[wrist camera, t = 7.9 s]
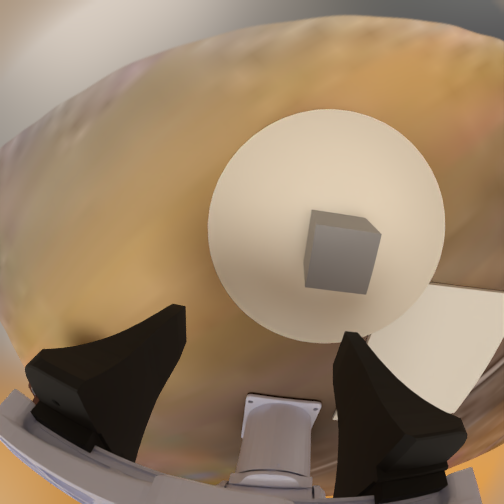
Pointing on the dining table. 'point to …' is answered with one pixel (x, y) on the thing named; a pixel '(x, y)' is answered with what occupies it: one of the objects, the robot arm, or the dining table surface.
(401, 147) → the lid
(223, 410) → the dining table surface
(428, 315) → the mat
